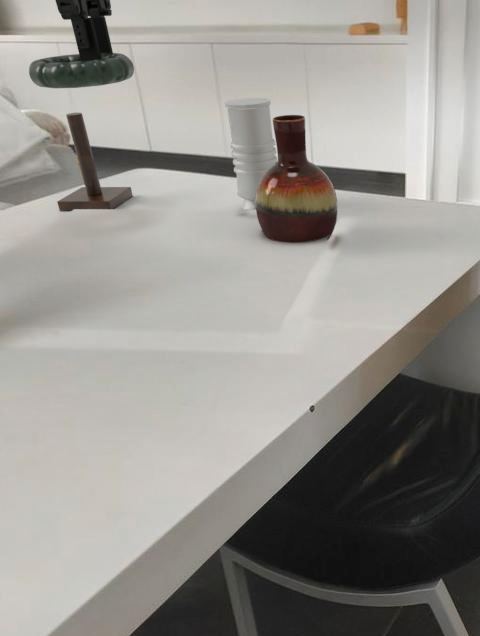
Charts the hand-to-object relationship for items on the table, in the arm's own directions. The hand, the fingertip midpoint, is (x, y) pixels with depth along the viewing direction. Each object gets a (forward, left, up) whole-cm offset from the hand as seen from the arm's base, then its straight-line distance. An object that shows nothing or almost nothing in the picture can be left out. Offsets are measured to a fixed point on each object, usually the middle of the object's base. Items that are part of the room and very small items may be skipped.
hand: (101, 73), depth 96 cm
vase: (+29, -10, -20) cm, 36 cm away
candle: (+19, +7, -20) cm, 28 cm away
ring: (0, -5, +1) cm, 5 cm away
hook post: (-10, +9, -20) cm, 24 cm away
